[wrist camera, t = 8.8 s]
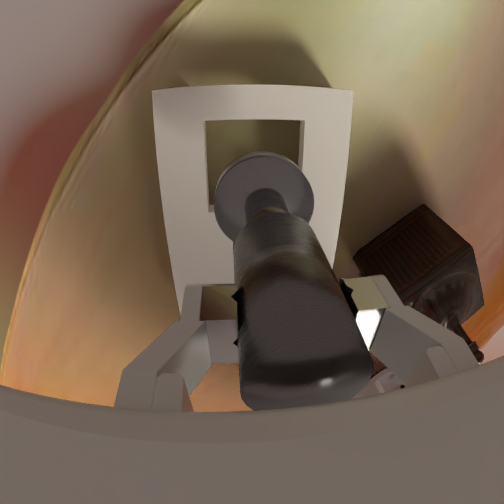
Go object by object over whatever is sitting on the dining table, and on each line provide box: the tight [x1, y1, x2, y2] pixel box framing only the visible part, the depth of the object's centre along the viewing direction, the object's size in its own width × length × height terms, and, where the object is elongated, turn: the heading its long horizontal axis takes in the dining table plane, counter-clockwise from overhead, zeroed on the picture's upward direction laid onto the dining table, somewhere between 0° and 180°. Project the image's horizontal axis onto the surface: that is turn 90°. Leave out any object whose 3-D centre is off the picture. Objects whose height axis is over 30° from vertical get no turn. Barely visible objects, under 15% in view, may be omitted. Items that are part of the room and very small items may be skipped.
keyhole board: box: [152, 84, 353, 316], centre depth 26 cm, size 14×22×5 cm, turn 0°
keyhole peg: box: [214, 151, 374, 411], centre depth 12 cm, size 5×5×12 cm
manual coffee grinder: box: [353, 204, 484, 364], centre depth 27 cm, size 16×11×18 cm
